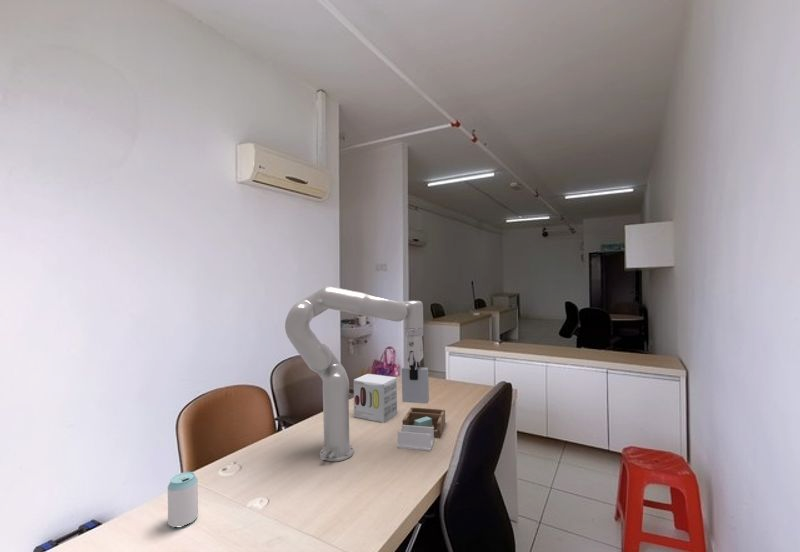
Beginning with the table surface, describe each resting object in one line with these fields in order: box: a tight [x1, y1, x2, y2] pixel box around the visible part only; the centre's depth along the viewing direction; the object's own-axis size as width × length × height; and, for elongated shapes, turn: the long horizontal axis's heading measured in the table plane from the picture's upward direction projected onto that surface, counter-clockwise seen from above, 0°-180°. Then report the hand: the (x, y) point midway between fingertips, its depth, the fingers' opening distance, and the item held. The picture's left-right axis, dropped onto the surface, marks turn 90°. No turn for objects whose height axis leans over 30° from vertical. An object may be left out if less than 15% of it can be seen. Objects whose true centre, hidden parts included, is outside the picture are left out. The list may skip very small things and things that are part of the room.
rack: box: [401, 407, 446, 439], centre depth 158 cm, size 16×16×6 cm
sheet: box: [401, 366, 430, 405], centre depth 143 cm, size 4×10×13 cm, turn 75°
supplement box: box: [353, 373, 398, 424], centre depth 175 cm, size 17×13×18 cm
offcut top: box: [414, 416, 432, 427], centre depth 154 cm, size 3×7×3 cm, turn 127°
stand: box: [396, 424, 435, 452], centre depth 143 cm, size 9×13×6 cm
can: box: [167, 471, 199, 528], centre depth 99 cm, size 7×7×12 cm
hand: (415, 377), depth 143 cm, fingers closed on sheet, 3 cm apart
